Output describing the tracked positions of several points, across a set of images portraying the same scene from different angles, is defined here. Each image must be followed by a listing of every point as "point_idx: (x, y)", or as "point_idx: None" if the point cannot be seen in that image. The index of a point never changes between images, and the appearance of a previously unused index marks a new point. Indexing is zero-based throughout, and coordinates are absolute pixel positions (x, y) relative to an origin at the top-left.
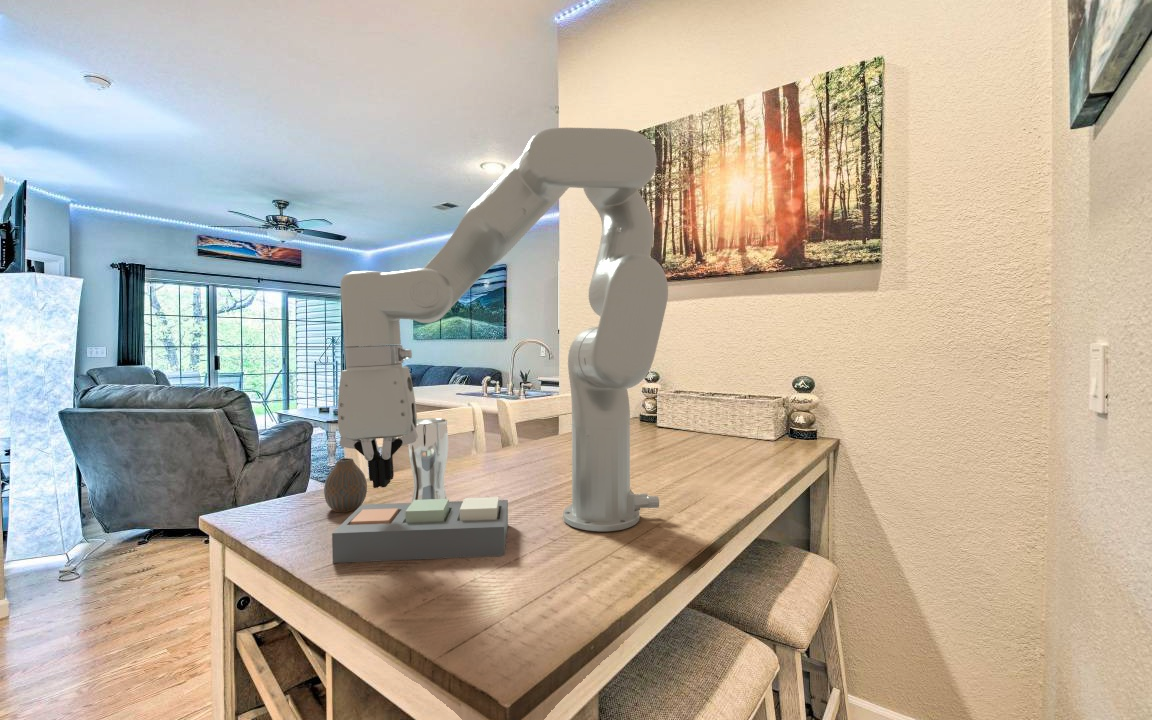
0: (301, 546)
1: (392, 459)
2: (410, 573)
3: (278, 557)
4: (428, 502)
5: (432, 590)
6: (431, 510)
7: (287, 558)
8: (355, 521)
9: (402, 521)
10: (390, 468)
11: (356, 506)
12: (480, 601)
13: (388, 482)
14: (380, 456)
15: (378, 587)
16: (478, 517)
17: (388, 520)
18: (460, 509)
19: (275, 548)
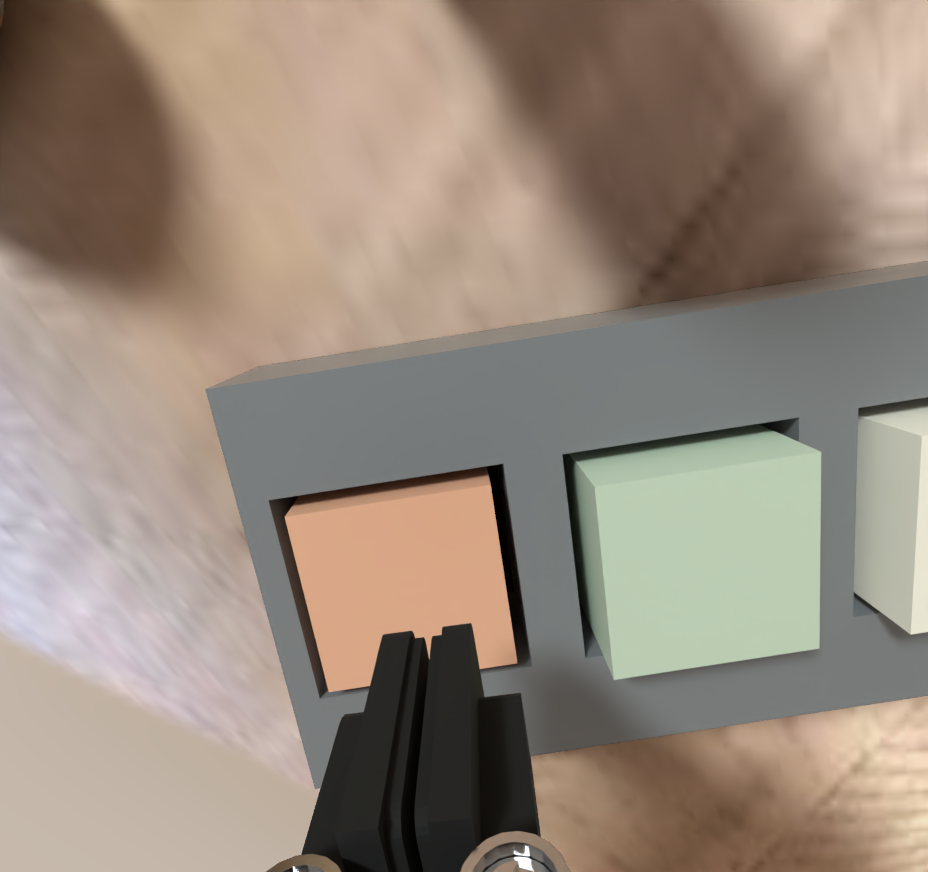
0: (104, 565)
1: (536, 827)
2: (648, 740)
3: (95, 663)
4: (703, 528)
5: (746, 825)
6: (754, 657)
7: (138, 669)
8: (353, 687)
9: (581, 642)
10: (540, 835)
11: (1, 22)
12: (889, 863)
13: (479, 675)
14: (386, 865)
15: (580, 822)
16: None
17: (515, 662)
18: (914, 631)
19: (8, 590)
